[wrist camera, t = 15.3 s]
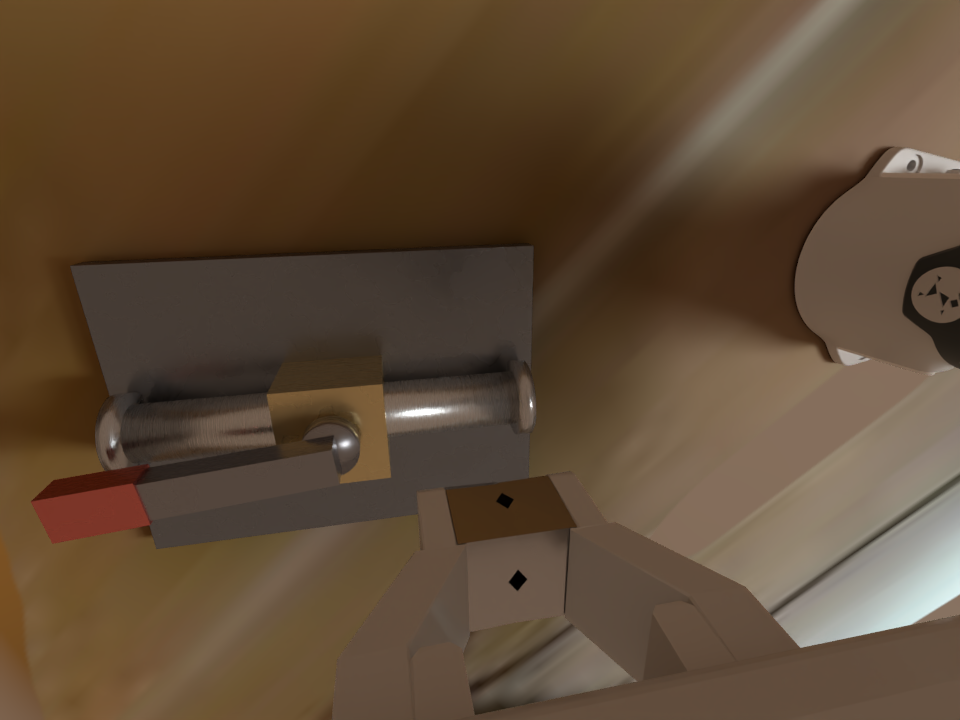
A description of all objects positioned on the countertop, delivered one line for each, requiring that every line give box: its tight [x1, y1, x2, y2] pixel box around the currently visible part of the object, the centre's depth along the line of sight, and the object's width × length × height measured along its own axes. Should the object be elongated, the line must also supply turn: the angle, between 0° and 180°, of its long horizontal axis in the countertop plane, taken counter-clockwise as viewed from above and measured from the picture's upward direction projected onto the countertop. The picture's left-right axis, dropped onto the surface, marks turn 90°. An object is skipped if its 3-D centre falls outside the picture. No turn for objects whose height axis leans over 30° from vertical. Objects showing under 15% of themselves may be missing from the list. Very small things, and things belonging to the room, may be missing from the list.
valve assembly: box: [70, 243, 536, 549], centre depth 35 cm, size 30×22×7 cm
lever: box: [31, 416, 361, 544], centre depth 29 cm, size 17×4×4 cm, turn 96°
